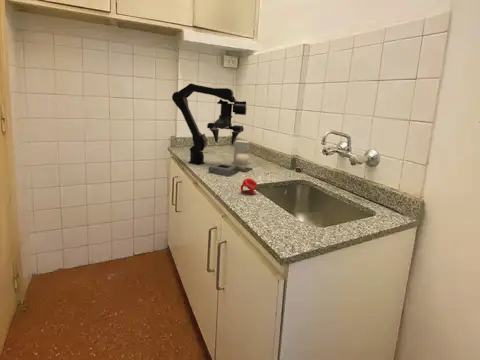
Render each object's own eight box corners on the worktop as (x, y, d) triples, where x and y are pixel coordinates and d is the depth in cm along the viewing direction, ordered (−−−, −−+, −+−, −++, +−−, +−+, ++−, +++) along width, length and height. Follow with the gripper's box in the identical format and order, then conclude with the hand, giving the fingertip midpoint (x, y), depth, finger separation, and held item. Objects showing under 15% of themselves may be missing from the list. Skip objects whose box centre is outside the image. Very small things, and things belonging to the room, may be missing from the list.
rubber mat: (229, 169, 160) (230, 168, 160) (236, 166, 168) (237, 165, 168) (246, 172, 157) (246, 171, 157) (252, 169, 165) (252, 168, 165)
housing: (208, 172, 151) (208, 166, 150) (218, 168, 161) (219, 163, 160) (229, 176, 147) (229, 170, 146) (238, 172, 157) (238, 166, 156)
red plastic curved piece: (254, 189, 118) (261, 178, 122) (241, 182, 119) (247, 171, 123) (250, 200, 125) (256, 190, 128) (237, 193, 126) (244, 183, 129)
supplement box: (245, 165, 174) (247, 142, 171) (232, 163, 175) (234, 141, 172) (248, 162, 181) (250, 141, 178) (235, 161, 182) (237, 139, 179)
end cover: (233, 168, 161) (234, 154, 159) (238, 166, 167) (239, 152, 165) (244, 170, 159) (245, 156, 157) (249, 168, 164) (250, 154, 162)
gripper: (202, 112, 157) (201, 143, 161) (236, 115, 151) (234, 147, 155) (212, 111, 167) (211, 140, 171) (245, 115, 161) (242, 145, 165)
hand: (224, 143), depth 165 cm, fingers open, 9 cm apart
